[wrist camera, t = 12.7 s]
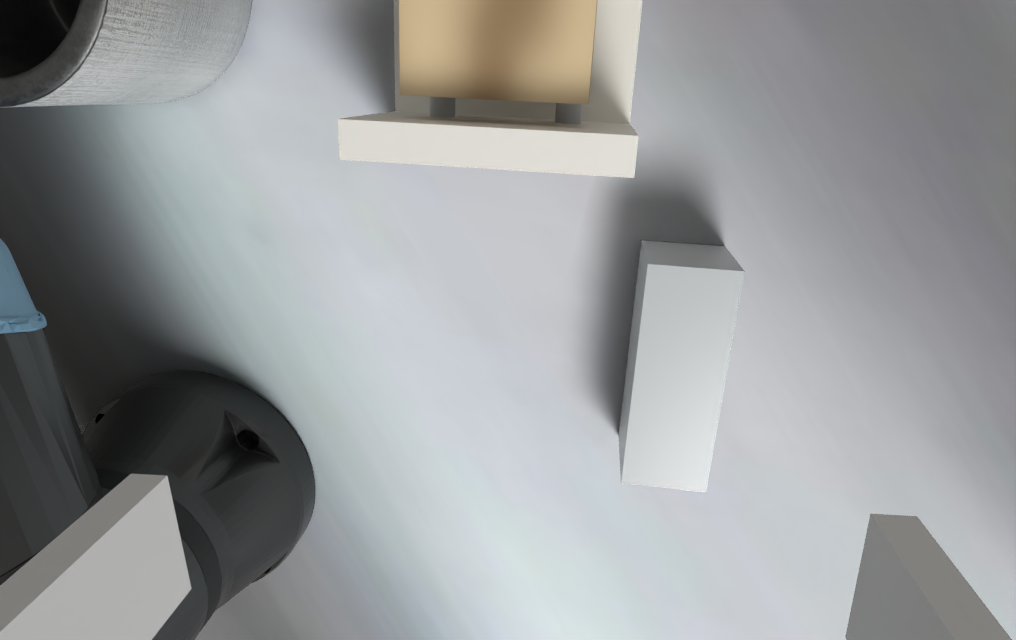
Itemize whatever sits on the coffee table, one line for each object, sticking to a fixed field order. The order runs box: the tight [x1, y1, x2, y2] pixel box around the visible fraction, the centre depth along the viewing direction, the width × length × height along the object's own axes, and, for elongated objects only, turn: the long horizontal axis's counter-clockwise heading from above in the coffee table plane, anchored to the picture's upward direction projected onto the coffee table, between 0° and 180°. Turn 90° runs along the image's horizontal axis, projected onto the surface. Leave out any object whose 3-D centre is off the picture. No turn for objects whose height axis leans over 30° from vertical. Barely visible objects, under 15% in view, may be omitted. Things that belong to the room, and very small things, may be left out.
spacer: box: [619, 240, 745, 492], centre depth 35 cm, size 4×12×5 cm, turn 177°
